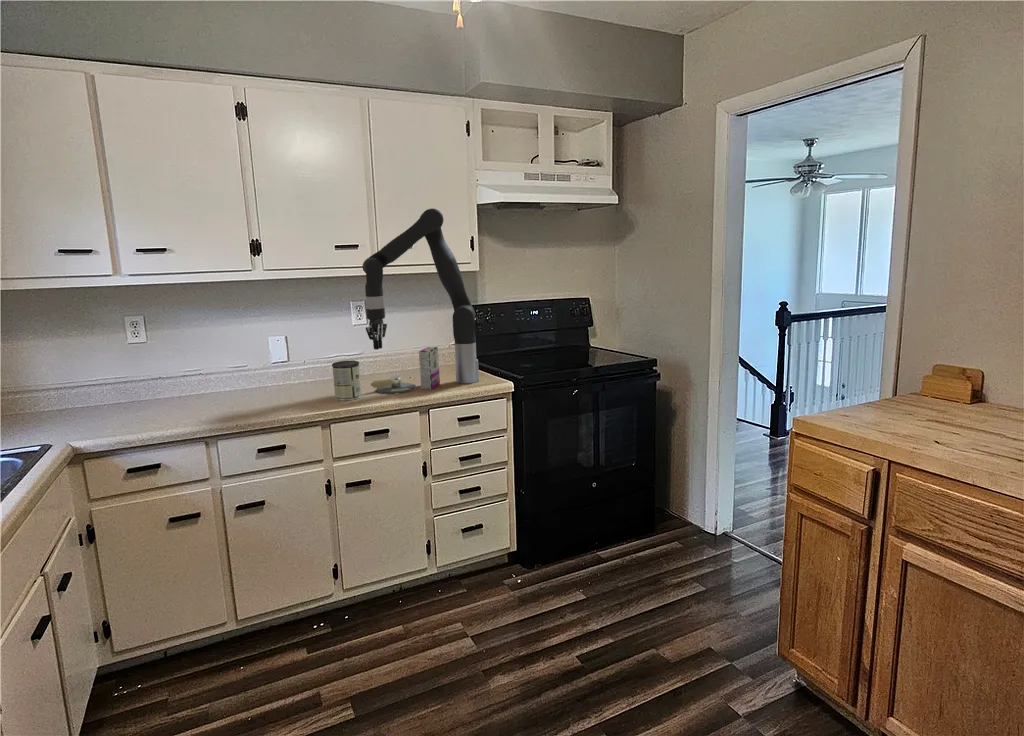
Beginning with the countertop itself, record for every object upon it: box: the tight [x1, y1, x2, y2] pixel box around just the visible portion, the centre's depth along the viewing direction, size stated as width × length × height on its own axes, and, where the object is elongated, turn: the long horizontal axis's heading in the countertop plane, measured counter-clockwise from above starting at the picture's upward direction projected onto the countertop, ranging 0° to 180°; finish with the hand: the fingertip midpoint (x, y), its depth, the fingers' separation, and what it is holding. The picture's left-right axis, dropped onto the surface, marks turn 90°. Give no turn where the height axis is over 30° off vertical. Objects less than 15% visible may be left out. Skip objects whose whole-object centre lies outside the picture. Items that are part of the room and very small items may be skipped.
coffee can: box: [331, 360, 362, 402], centre depth 234 cm, size 10×10×14 cm
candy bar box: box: [418, 346, 441, 391], centre depth 249 cm, size 11×5×16 cm, turn 168°
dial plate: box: [376, 382, 416, 395], centre depth 247 cm, size 16×16×1 cm
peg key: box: [370, 372, 402, 389], centre depth 245 cm, size 12×5×5 cm, turn 117°
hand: (378, 348), depth 246 cm, fingers closed
